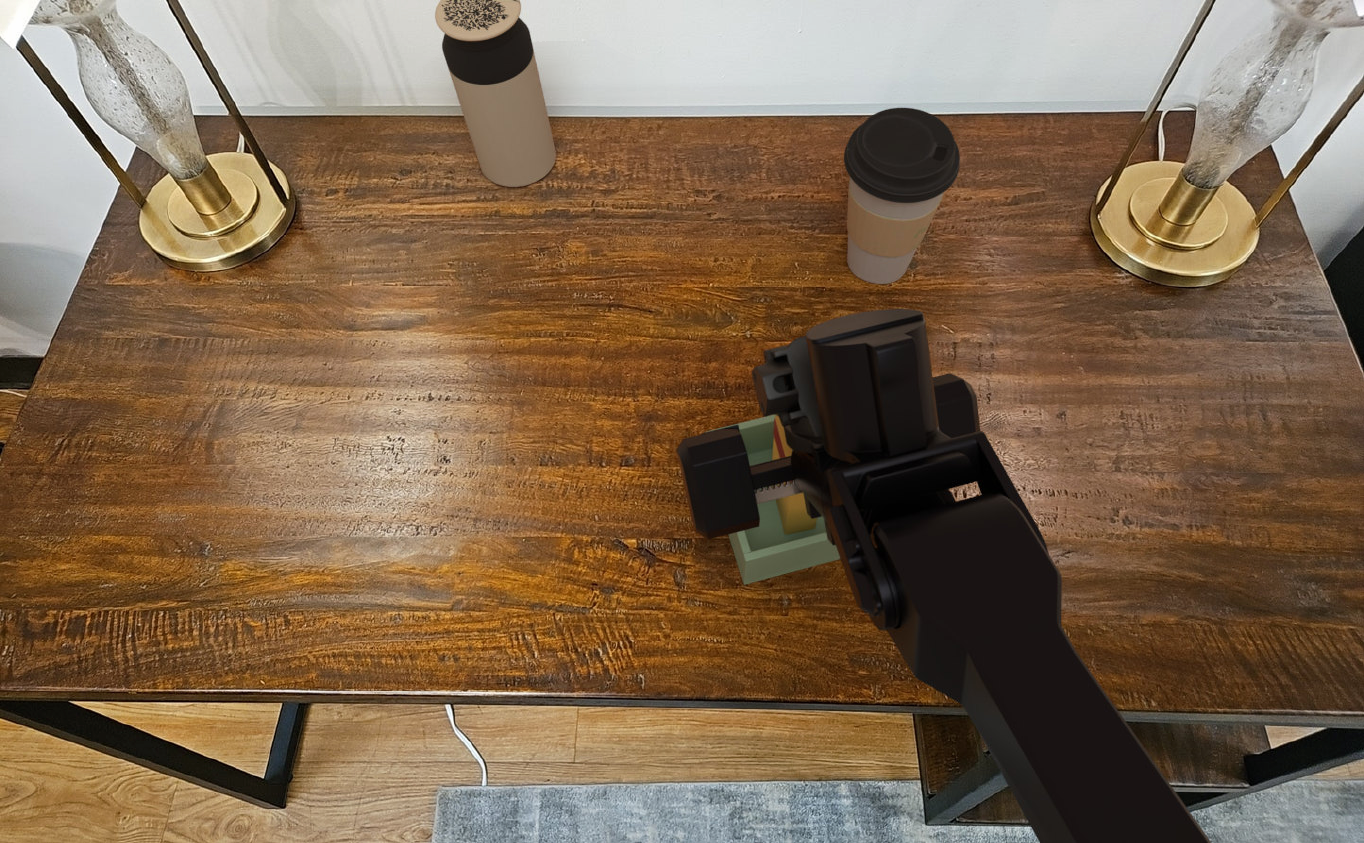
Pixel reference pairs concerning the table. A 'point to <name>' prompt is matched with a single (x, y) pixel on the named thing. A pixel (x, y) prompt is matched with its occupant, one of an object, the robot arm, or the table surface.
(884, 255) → the coffee cup
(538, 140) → the travel mug
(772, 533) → the green open square box
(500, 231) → the table surface
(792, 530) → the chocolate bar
